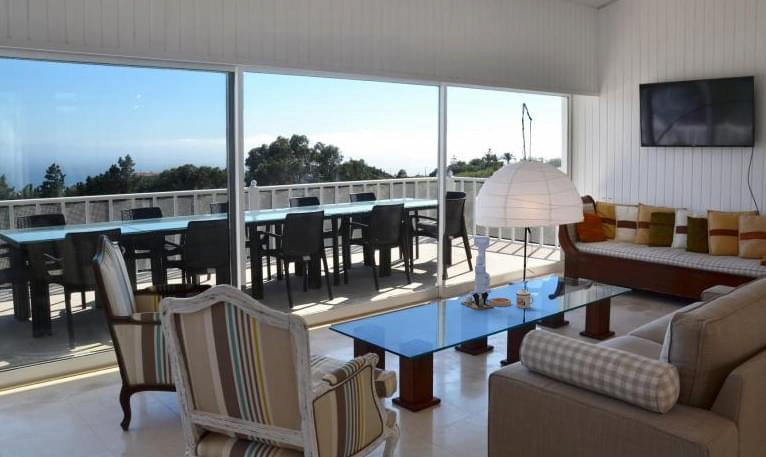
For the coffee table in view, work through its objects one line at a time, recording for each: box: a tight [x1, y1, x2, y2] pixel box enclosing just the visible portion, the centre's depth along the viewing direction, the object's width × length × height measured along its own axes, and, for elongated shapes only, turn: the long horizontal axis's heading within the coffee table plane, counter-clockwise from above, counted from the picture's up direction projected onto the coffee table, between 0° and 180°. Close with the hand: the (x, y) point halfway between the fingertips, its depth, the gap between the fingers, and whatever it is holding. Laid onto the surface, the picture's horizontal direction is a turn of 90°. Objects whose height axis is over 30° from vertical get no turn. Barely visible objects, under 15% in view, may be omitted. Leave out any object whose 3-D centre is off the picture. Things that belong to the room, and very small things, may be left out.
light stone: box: [465, 295, 473, 305], centre depth 455 cm, size 4×4×6 cm
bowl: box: [489, 297, 512, 307], centre depth 456 cm, size 13×13×3 cm
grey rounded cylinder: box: [477, 298, 484, 308], centre depth 448 cm, size 4×4×6 cm
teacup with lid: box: [515, 288, 535, 309], centre depth 448 cm, size 12×9×12 cm
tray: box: [460, 300, 495, 311], centre depth 452 cm, size 20×13×2 cm, turn 23°
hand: (480, 304), depth 448 cm, fingers closed on grey rounded cylinder, 4 cm apart
